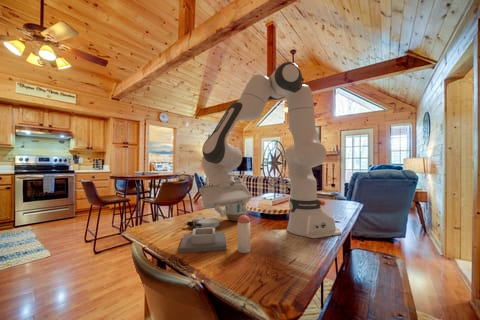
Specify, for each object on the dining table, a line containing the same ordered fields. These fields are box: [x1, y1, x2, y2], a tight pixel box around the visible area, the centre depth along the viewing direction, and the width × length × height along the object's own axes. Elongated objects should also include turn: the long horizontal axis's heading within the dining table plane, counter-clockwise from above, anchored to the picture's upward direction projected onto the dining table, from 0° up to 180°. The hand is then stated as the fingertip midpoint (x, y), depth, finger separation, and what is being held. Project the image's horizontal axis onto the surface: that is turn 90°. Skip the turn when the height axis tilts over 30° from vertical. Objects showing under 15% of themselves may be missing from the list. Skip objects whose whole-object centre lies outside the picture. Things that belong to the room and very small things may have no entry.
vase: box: [224, 204, 246, 222], centre depth 108 cm, size 11×11×19 cm
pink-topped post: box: [237, 214, 251, 254], centre depth 73 cm, size 4×4×12 cm
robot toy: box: [183, 217, 224, 229], centre depth 96 cm, size 12×4×15 cm
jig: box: [178, 227, 227, 254], centre depth 79 cm, size 16×14×4 cm
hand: (234, 213), depth 77 cm, fingers open, 8 cm apart
